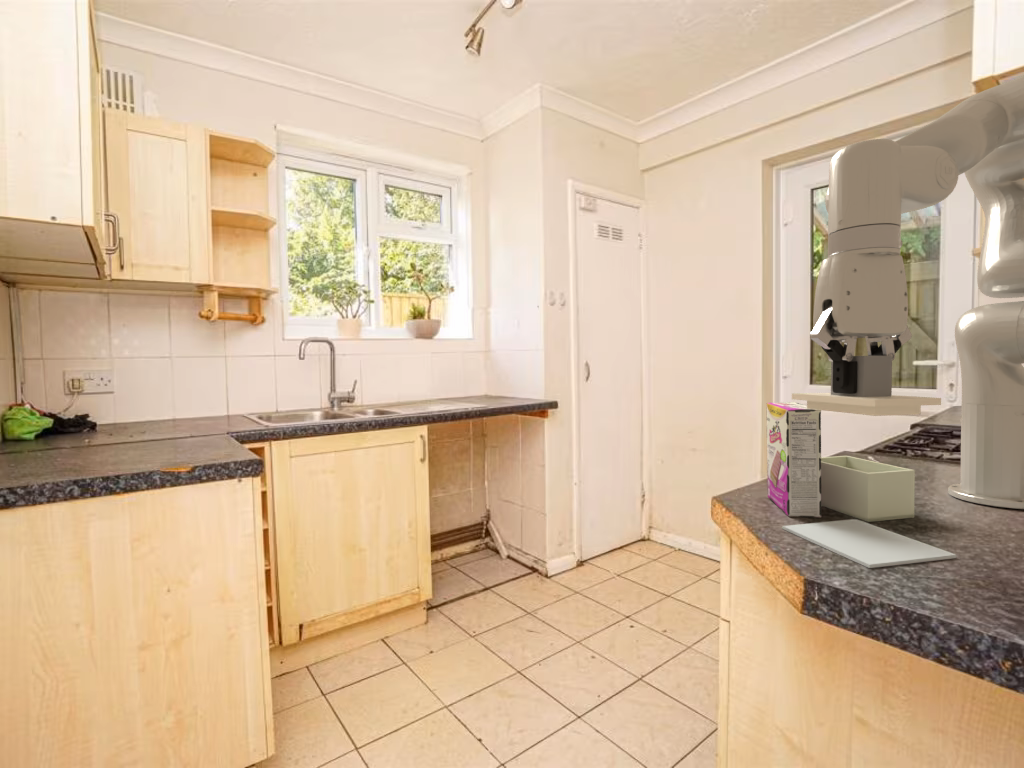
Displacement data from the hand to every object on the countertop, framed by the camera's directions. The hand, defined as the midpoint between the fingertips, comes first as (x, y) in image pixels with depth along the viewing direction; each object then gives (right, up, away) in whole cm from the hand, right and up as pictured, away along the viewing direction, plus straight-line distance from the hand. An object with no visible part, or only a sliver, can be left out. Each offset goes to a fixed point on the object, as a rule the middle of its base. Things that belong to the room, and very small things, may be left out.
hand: (860, 391), depth 65 cm
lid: (0, -2, 0) cm, 2 cm away
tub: (+10, -19, +15) cm, 26 cm away
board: (+1, -19, +1) cm, 20 cm away
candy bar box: (0, -19, +17) cm, 25 cm away
